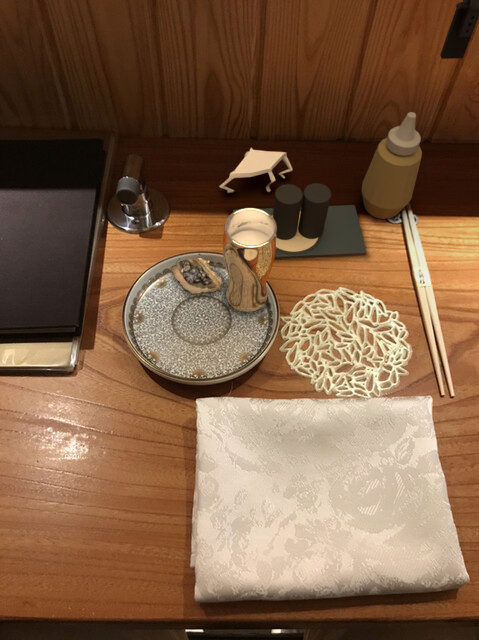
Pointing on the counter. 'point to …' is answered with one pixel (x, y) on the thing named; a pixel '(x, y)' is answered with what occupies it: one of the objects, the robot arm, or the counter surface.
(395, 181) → the squeeze bottle
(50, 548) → the counter surface
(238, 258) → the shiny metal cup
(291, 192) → the black post
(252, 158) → the origami figure
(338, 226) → the board
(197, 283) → the pouch of beans
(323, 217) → the black cylinder
